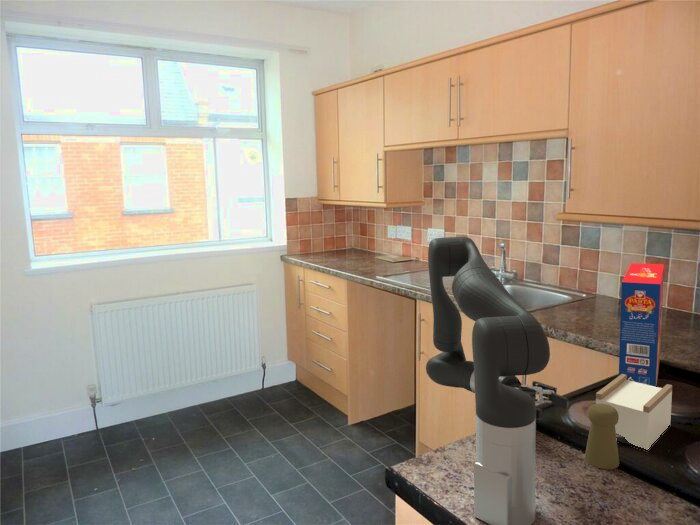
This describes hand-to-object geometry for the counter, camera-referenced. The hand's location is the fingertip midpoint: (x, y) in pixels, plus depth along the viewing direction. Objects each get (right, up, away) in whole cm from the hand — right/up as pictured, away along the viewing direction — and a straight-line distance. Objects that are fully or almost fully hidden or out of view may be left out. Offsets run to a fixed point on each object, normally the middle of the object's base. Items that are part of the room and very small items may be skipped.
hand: (555, 409), depth 105 cm
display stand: (+18, -5, +3) cm, 19 cm away
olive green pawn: (+6, -8, -8) cm, 12 cm away
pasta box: (+36, 0, +31) cm, 48 cm away
